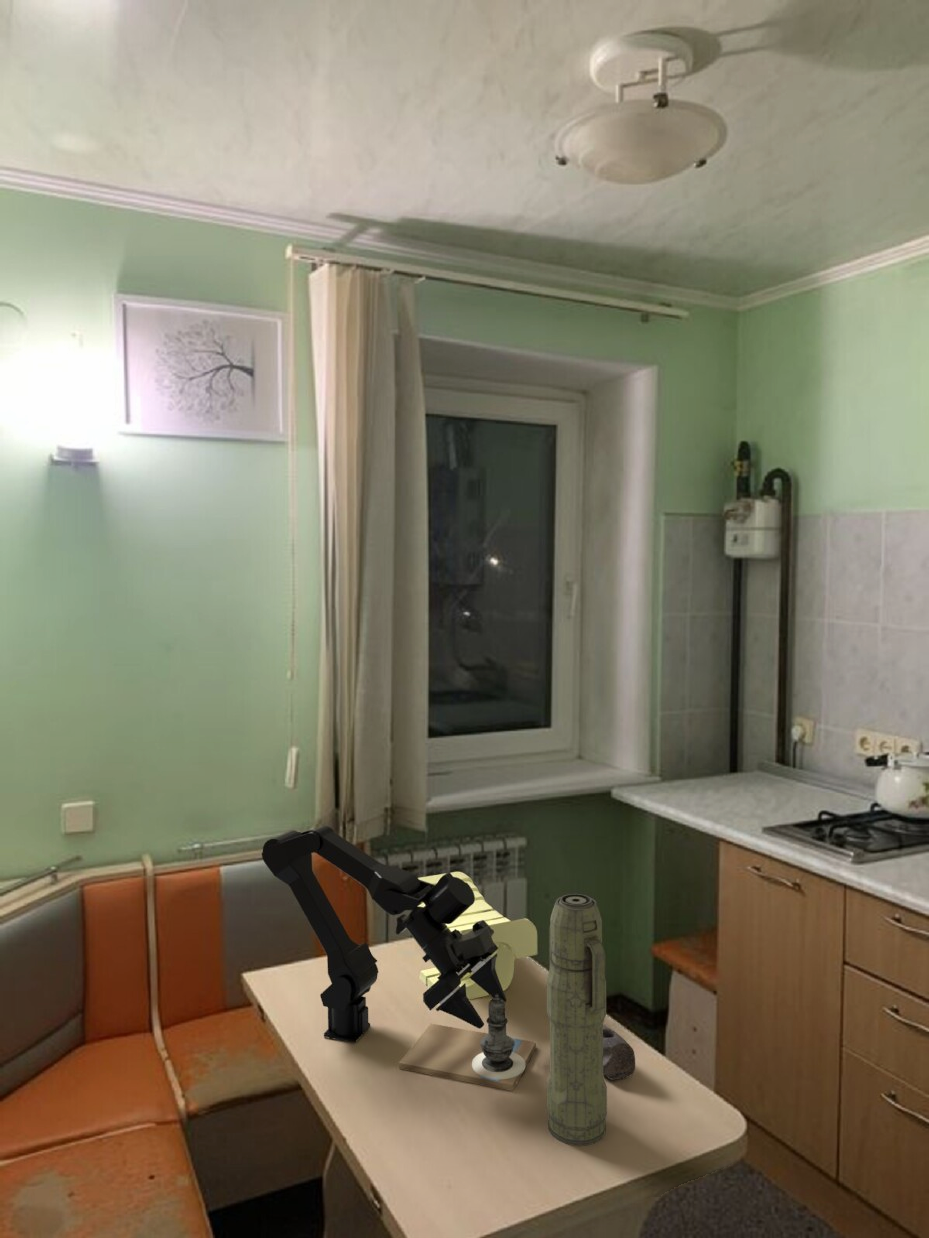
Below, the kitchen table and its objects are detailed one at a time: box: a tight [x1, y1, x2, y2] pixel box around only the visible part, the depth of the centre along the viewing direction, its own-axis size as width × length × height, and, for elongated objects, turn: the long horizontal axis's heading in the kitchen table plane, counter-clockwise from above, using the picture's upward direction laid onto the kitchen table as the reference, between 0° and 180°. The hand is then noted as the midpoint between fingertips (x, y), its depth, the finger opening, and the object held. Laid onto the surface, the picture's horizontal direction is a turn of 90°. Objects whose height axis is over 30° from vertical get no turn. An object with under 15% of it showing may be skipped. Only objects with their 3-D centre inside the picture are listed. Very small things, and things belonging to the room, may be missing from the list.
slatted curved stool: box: [417, 871, 538, 1000], centre depth 184 cm, size 30×16×18 cm, turn 25°
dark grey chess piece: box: [480, 994, 515, 1072], centre depth 152 cm, size 6×6×12 cm
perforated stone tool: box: [603, 1024, 636, 1081], centre depth 154 cm, size 15×5×7 cm, turn 24°
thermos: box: [546, 893, 608, 1146], centre depth 136 cm, size 9×12×35 cm
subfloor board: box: [398, 1023, 537, 1091], centre depth 156 cm, size 20×14×1 cm
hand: (493, 1014), depth 152 cm, fingers open, 9 cm apart
